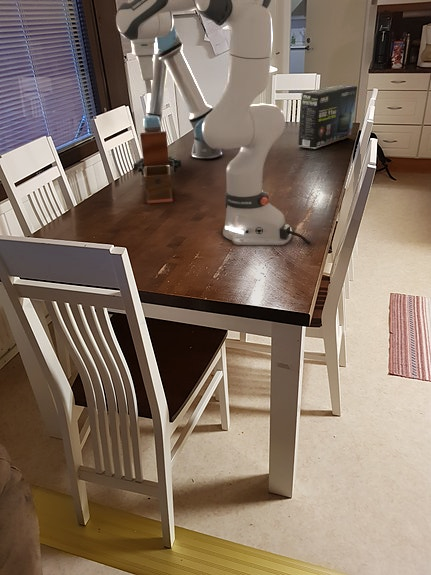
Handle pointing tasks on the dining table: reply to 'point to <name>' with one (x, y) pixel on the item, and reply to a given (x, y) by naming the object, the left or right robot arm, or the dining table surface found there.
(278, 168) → the dining table surface
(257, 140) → the right robot arm
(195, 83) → the left robot arm
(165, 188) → the chest
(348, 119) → the router box
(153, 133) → the lid
